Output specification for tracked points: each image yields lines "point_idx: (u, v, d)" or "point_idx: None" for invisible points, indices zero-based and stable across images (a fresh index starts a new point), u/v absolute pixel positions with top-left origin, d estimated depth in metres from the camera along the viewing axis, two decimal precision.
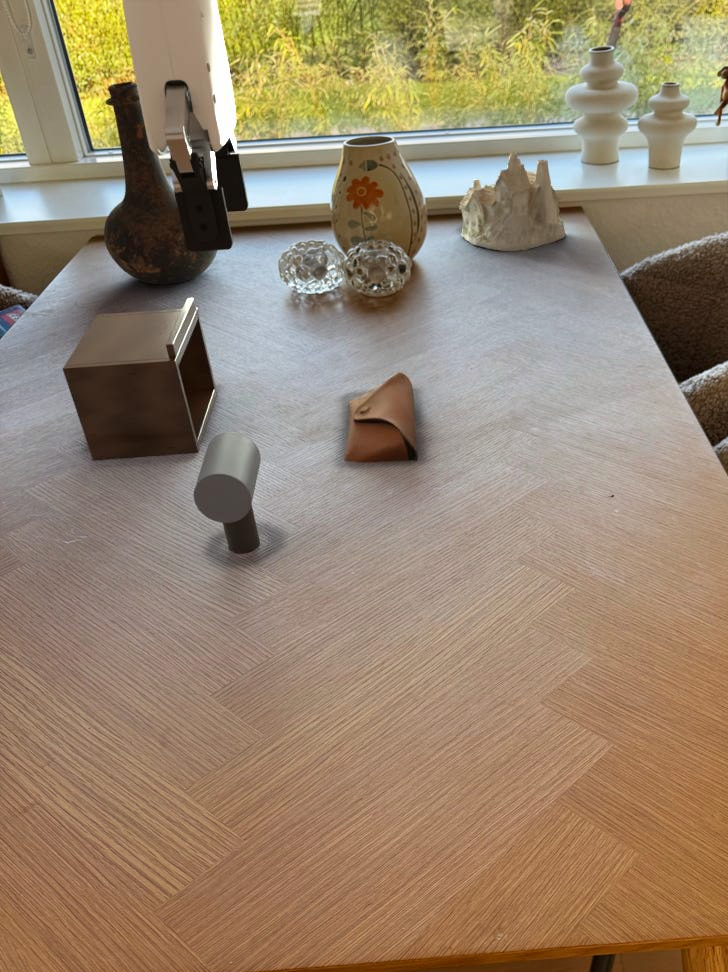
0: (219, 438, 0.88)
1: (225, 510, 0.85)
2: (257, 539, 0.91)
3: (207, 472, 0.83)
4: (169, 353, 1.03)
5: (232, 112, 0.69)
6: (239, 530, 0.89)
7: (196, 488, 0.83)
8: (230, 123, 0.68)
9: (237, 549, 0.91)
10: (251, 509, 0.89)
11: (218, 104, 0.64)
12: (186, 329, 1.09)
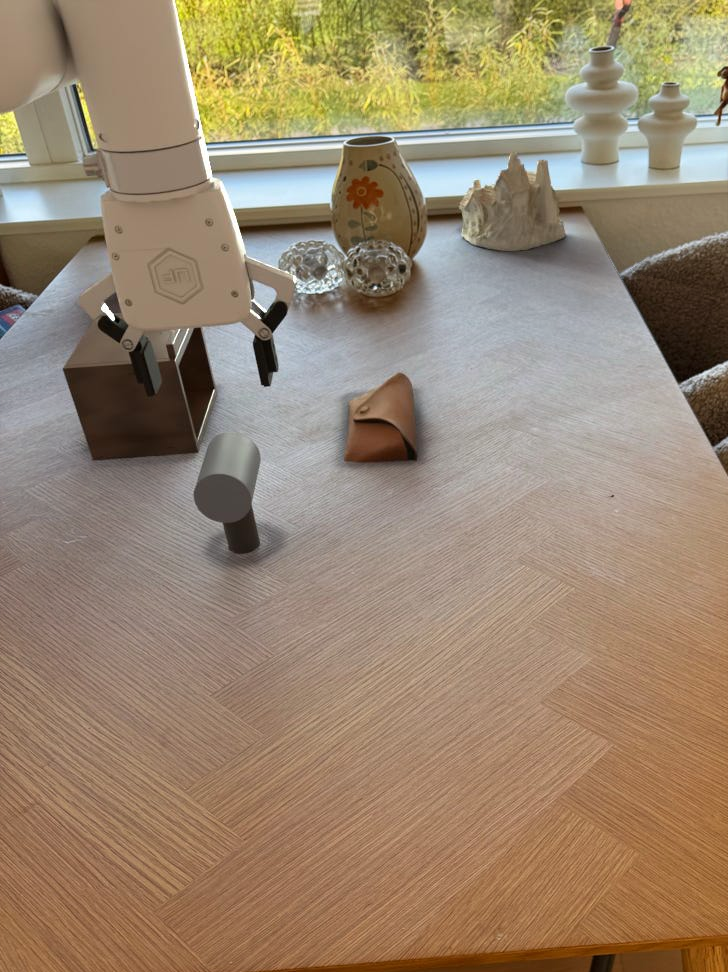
0: (219, 438, 0.88)
1: (225, 510, 0.85)
2: (257, 539, 0.91)
3: (207, 472, 0.83)
4: (169, 353, 1.03)
5: None
6: (239, 530, 0.89)
7: (196, 488, 0.83)
8: None
9: (237, 549, 0.91)
10: (251, 509, 0.89)
11: None
12: (186, 329, 1.09)
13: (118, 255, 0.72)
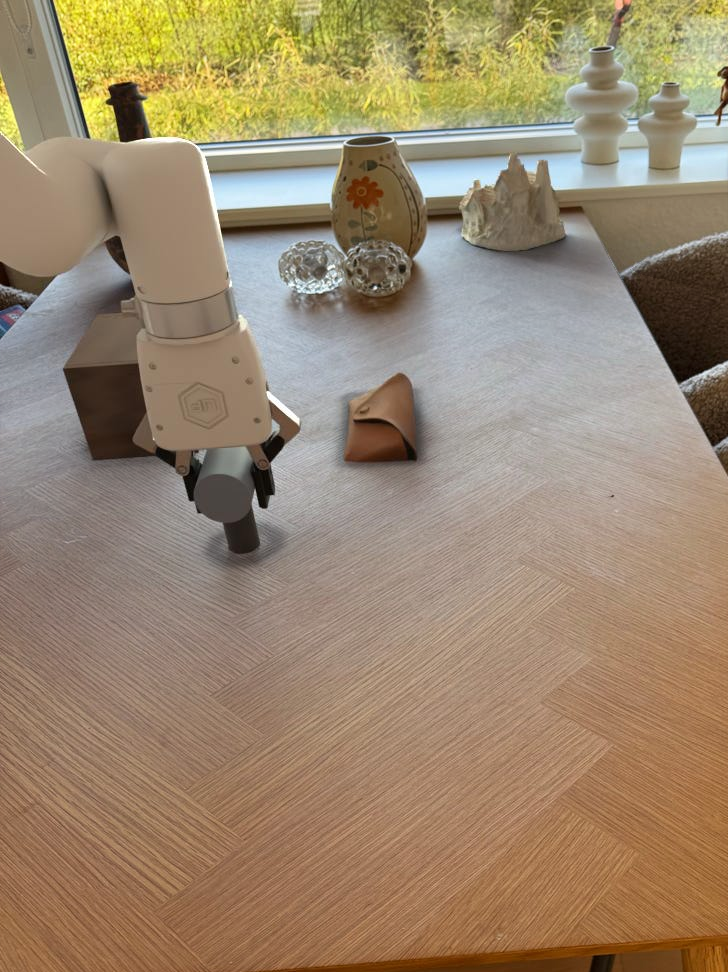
0: None
1: (225, 510, 0.85)
2: (257, 539, 0.91)
3: (207, 472, 0.83)
4: None
5: None
6: (239, 530, 0.89)
7: (196, 488, 0.83)
8: None
9: (237, 549, 0.91)
10: (251, 509, 0.89)
11: None
12: None
13: (151, 387, 0.79)
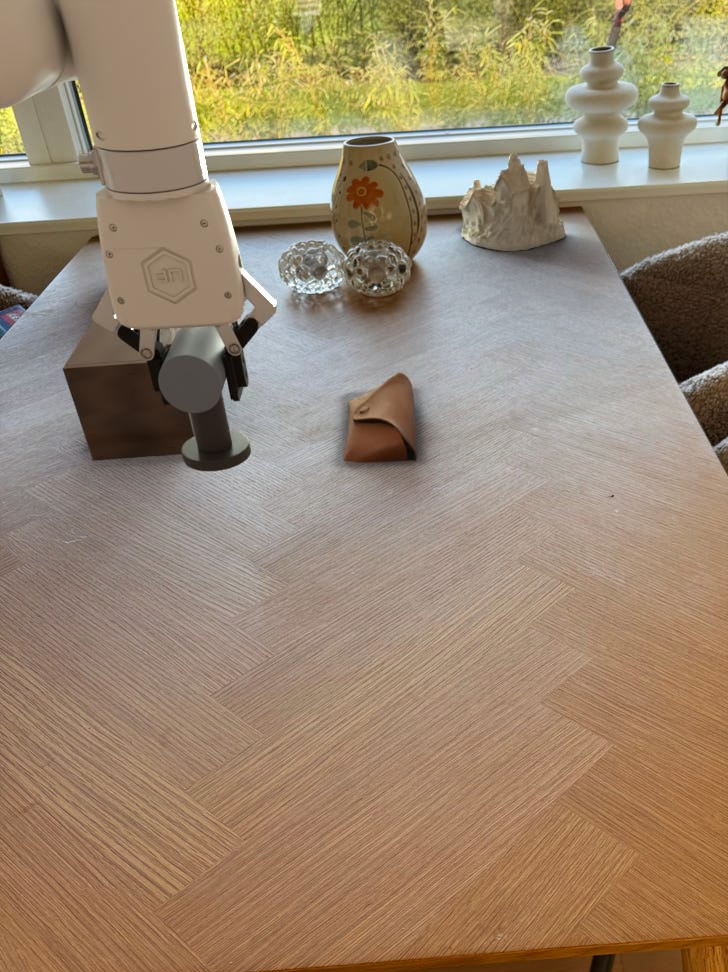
0: None
1: (192, 398, 0.78)
2: (229, 438, 0.85)
3: (173, 354, 0.77)
4: None
5: None
6: (208, 425, 0.83)
7: (161, 371, 0.77)
8: None
9: (207, 448, 0.84)
10: (222, 403, 0.83)
11: None
12: None
13: (111, 253, 0.72)
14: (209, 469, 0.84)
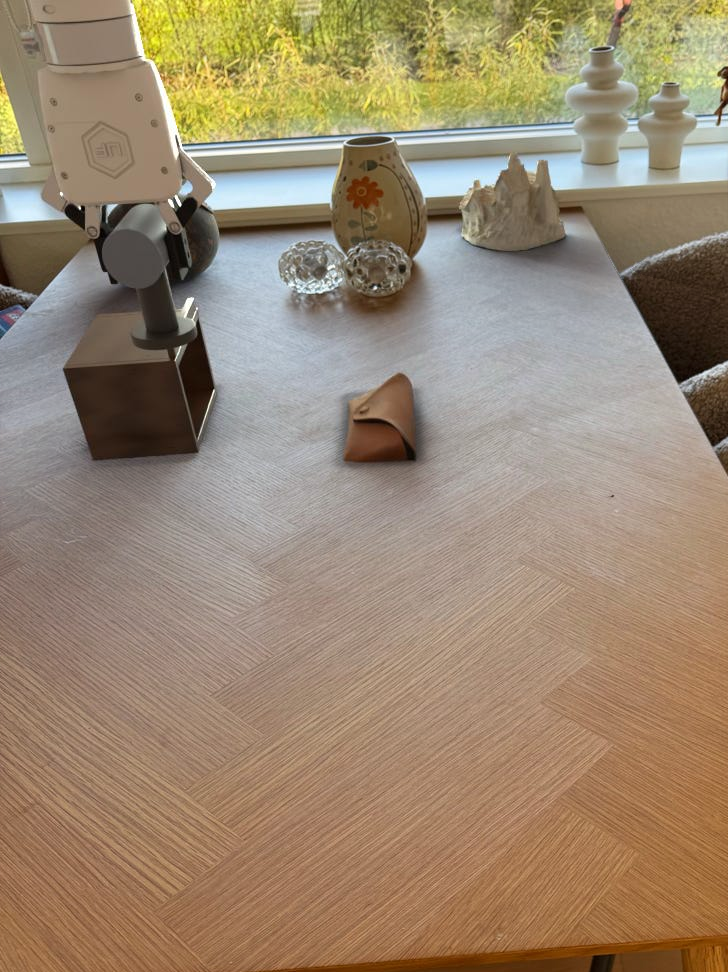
0: (135, 208, 0.86)
1: (135, 273, 0.83)
2: (175, 320, 0.89)
3: (115, 229, 0.81)
4: (169, 353, 1.03)
5: None
6: (154, 305, 0.87)
7: (104, 245, 0.81)
8: None
9: (153, 328, 0.89)
10: (167, 284, 0.87)
11: None
12: None
13: (53, 127, 0.77)
14: (155, 348, 0.88)
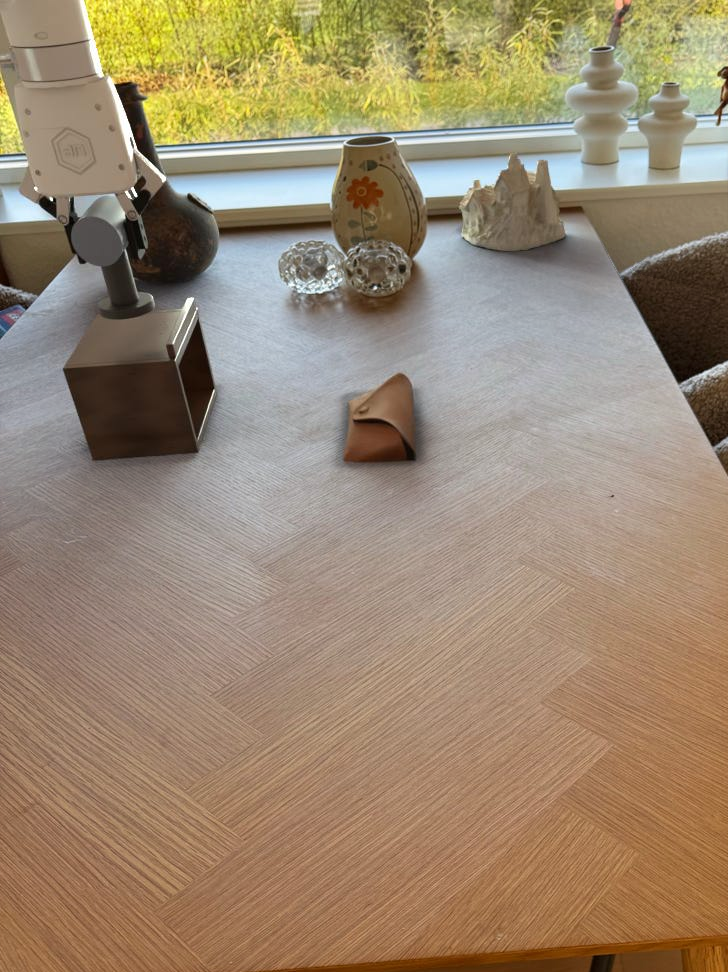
0: (98, 199, 1.02)
1: (99, 253, 0.99)
2: (135, 294, 1.05)
3: (82, 216, 0.97)
4: (169, 353, 1.03)
5: None
6: (117, 281, 1.03)
7: (73, 230, 0.97)
8: None
9: (117, 301, 1.05)
10: (127, 263, 1.03)
11: None
12: (186, 329, 1.09)
13: (28, 132, 0.93)
14: (119, 317, 1.04)
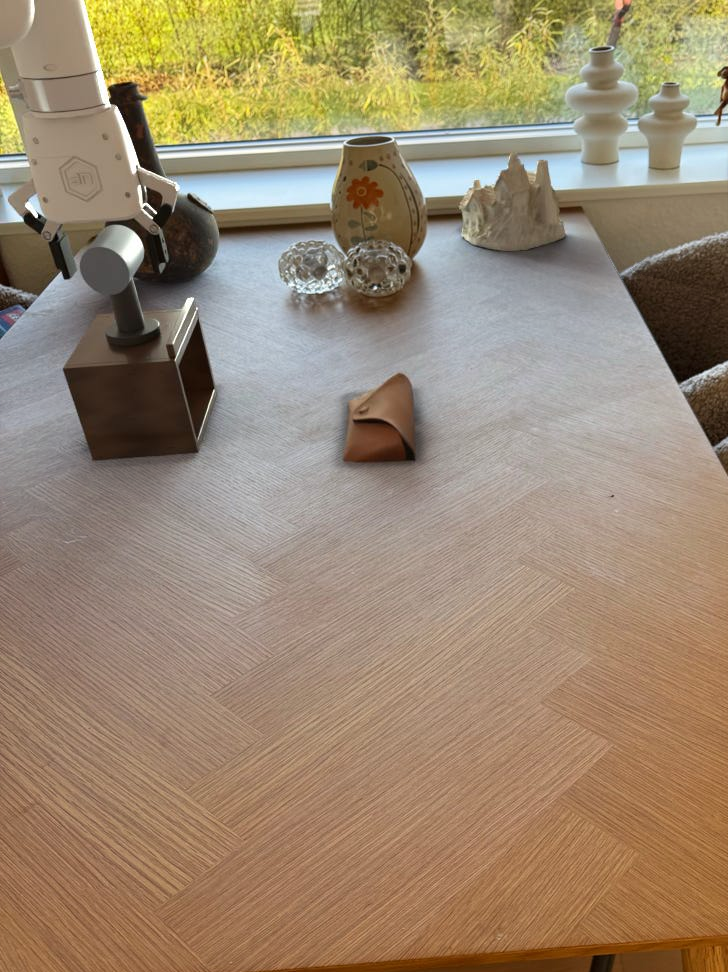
0: (106, 228, 1.04)
1: (107, 282, 1.01)
2: (142, 320, 1.07)
3: (90, 247, 0.99)
4: (169, 353, 1.03)
5: None
6: (124, 308, 1.05)
7: (81, 260, 0.99)
8: None
9: (124, 328, 1.07)
10: (134, 291, 1.05)
11: None
12: (186, 329, 1.09)
13: (36, 161, 0.94)
14: (126, 344, 1.06)
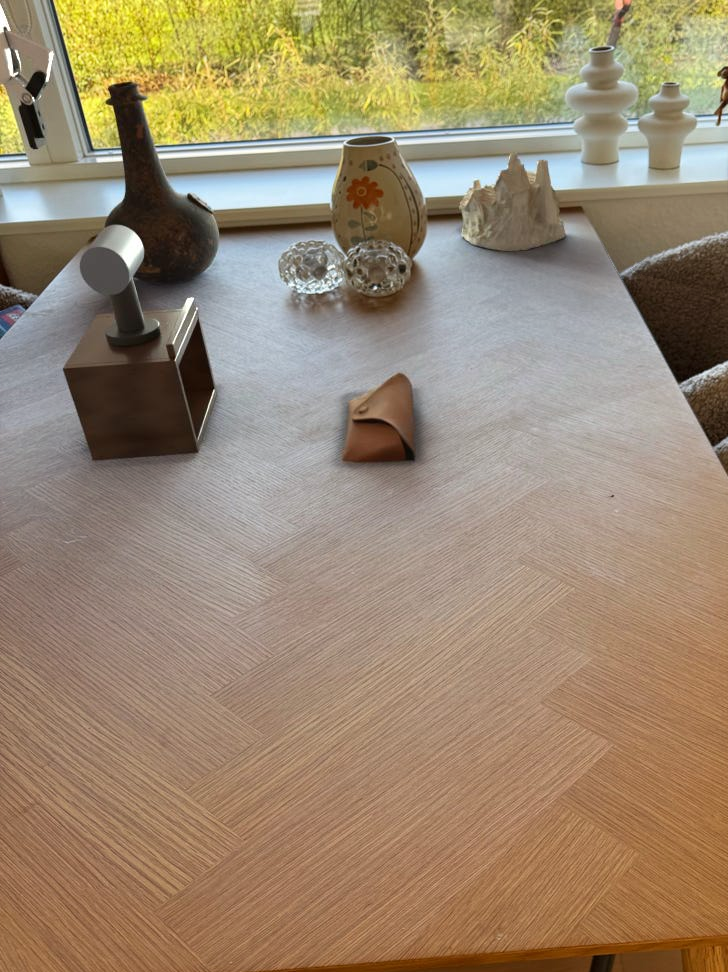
0: (106, 228, 1.04)
1: (107, 282, 1.01)
2: (142, 320, 1.07)
3: (90, 247, 0.99)
4: (169, 353, 1.03)
5: None
6: (124, 308, 1.05)
7: (81, 260, 0.99)
8: None
9: (124, 328, 1.07)
10: (134, 291, 1.05)
11: None
12: (186, 329, 1.09)
13: None
14: (126, 344, 1.06)
